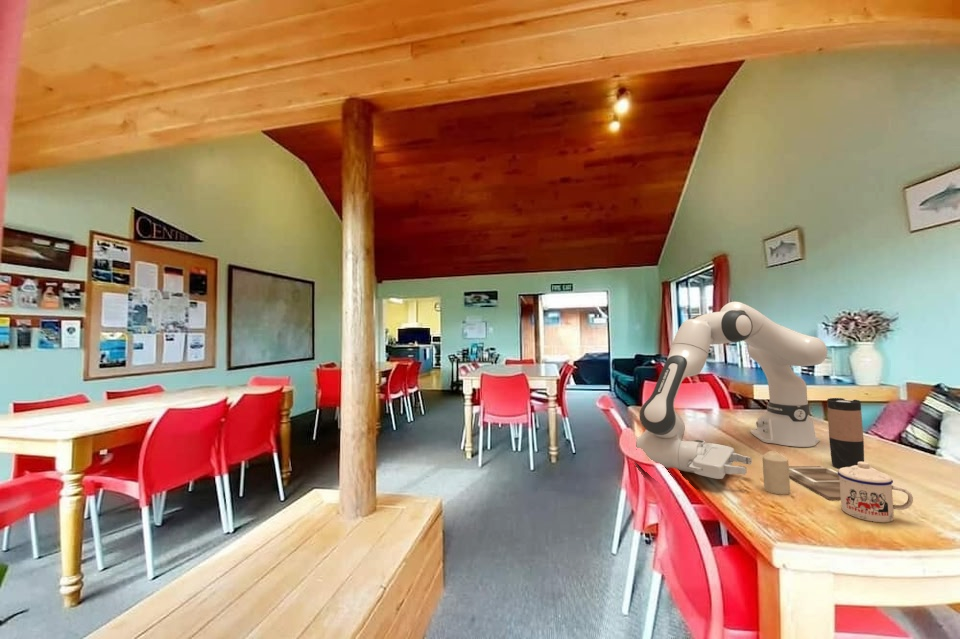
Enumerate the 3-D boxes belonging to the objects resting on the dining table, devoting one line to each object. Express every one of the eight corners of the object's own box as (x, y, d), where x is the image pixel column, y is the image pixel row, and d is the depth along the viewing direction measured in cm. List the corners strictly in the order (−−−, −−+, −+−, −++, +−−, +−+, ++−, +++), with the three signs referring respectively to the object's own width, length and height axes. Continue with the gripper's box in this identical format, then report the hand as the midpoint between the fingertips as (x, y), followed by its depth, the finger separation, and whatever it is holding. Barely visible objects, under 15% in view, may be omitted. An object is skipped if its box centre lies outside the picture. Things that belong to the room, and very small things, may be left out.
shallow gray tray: (773, 469, 121) (772, 462, 121) (819, 468, 119) (819, 462, 120) (829, 500, 99) (828, 492, 99) (886, 500, 98) (886, 491, 98)
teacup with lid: (841, 516, 91) (838, 464, 91) (838, 502, 98) (835, 454, 98) (919, 531, 83) (915, 475, 83) (910, 514, 90) (906, 462, 90)
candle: (794, 495, 102) (792, 455, 103) (770, 494, 104) (768, 455, 104) (783, 486, 108) (780, 449, 108) (760, 486, 109) (758, 449, 109)
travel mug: (839, 471, 117) (834, 402, 118) (825, 462, 124) (821, 397, 125) (872, 472, 115) (867, 402, 115) (856, 463, 122) (851, 398, 123)
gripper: (683, 455, 111) (742, 465, 102) (700, 438, 127) (753, 445, 118) (684, 478, 111) (743, 490, 102) (701, 458, 126) (754, 466, 117)
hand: (748, 465), depth 110 cm, fingers open, 8 cm apart
